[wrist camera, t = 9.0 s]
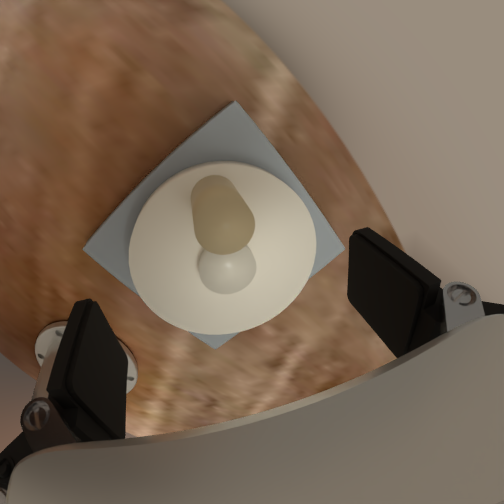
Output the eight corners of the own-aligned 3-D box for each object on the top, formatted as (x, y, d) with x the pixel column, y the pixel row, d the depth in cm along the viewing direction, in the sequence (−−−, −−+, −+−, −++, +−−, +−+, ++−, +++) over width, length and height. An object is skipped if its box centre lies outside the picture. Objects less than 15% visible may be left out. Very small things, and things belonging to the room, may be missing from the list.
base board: (213, 339, 29) (215, 349, 28) (87, 241, 21) (82, 249, 20) (337, 241, 27) (345, 248, 26) (232, 101, 19) (236, 100, 18)
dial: (333, 198, 23) (384, 233, 17) (265, 329, 28) (287, 385, 22) (162, 134, 17) (152, 146, 11) (118, 300, 22) (106, 362, 16)
